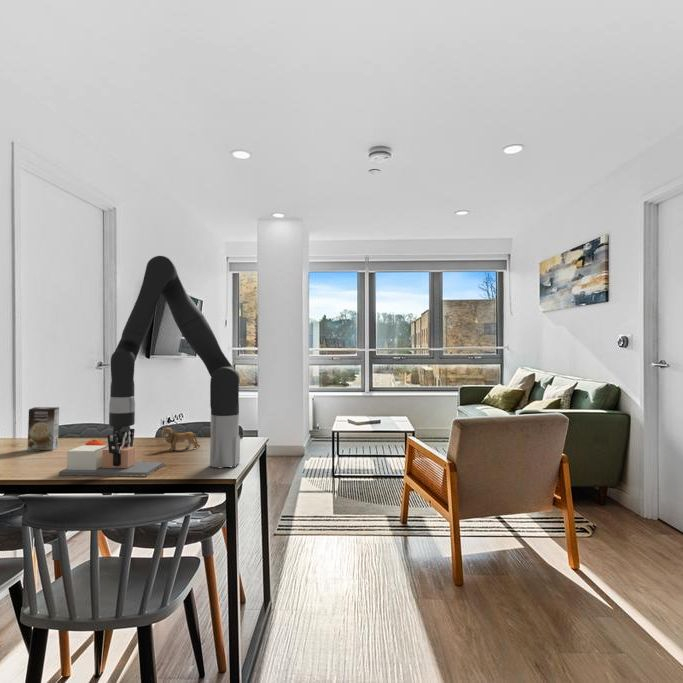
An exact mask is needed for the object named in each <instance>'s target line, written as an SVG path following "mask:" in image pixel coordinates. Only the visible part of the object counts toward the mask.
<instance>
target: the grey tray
mask: <svg viewBox="0 0 683 683" xmlns="http://www.w3.org/2000/svg"><path fill="white" fill-rule="evenodd" d="M106 448H109V447H108V445H105V446H95V445H85V444H84V445H80V446H77V447H75V448H72V449H70V450H67V452H66V453H67V454H66V457H67V458H66V468H64V469H62V470H59V471H58V476H59V475H145V476H144V477H148V476H149V475H148V474H150V473H151V474H153V473H154V472H153V471H155V470H156V471H158V470H159V469H161V468H163V467H164V466H165V461H135V464H134V465H132V466H131V467H129V468H102V463H103V450H104V449H106ZM163 465H164V466H163ZM162 466H163V467H162ZM160 467H161V468H160ZM158 468H159V469H158ZM157 469H158V470H157ZM156 471H155V472H156ZM152 472H153V473H152ZM151 474H150V475H151ZM147 475H148V476H147Z"/></svg>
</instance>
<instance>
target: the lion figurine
mask: <svg viewBox="0 0 683 683" xmlns="http://www.w3.org/2000/svg"><path fill="white" fill-rule="evenodd" d="M161 438H162V440H163V441H165V442H166V443H167V444H170V446H171V447H170V448H169V450H170V449H172V450H175V451H176V448H177V447H176V446H177V443H184V442H186V441H187V443H188V445H187V446H185V448H186V449H190V447H191V446H192V445H193V446H194V447H193V448H198V447H199V448H200V447H201V445H200V444H198V440H197V437H196V434H195V433H194V432H193V431H186V432H178V431H177V430H175V429H173V428H171V427H164V428H163V429H162V432H161ZM172 450H171V451H172Z"/></svg>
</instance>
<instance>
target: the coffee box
mask: <svg viewBox="0 0 683 683" xmlns="http://www.w3.org/2000/svg"><path fill="white" fill-rule="evenodd" d="M59 421H60V407H59V406H58V407H57V406H55V407H49V406H48V407H47V406H44V407H43V406H42V407H40V406H39V407H37V406H36V407H32V408H29V409H28V422H27V423H28V426H27V428H28V429H27V448H26V450H27V452H40V451H39V450H53V451H55V450H56V449H57V448H59V427H60V426H59V424H60V422H59ZM54 449H55V450H54Z"/></svg>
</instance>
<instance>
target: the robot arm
mask: <svg viewBox="0 0 683 683" xmlns="http://www.w3.org/2000/svg"><path fill="white" fill-rule="evenodd" d="M142 280H143V281H142V284H141V286H140V290H139V293H138V296H137V298H136V301H135V303H134V305H133V308H132V310H131V312H130V315H129V316H128V319H127V321H126V323H125V326H124V328H123V330H122V333H121V337H120V340H119V341H118V343H117V346H116V349H115V351H114V352H113V353H112V355H111V356H110V376H111V377H110V378H111V382H110V395H109V396H110V397H109V398H110V399H109V407H108V410H109V412H108V426H109V427H112V428H113V429H112V430H113V431H112V433H111V434H108V435H107V446H108V447H109V453H112V454H113V466H120V465H121V450H122V447H134V446H133V445H134V437H135V428H131V427H132V426H134V425H135V422H136V421H135V420H136V419H135V418H136V417H135V416H136V413H135V412H136V402H135V380H134V377H135V376H134V375H135V365H136V364H135V362H136V360H137V357H138V354H139V352H140V349H141V346H142V344H143V343H144V341H145V340H146V337H147V334H148V332H149V329H150V328H151V326H152V323H153V318H154V314H155V312H156V309H157V305H158V303H159V300H160V297H161V296H162V298H163V299H164V300H165V302H166V303H167V306H168V307H169V309H170V313H171V315H172V318H173V320H174V322H175V324H176V326H177V328H178V330H179V331H180V333H181V335H182V336H183V338H184V340H185V341H186V343H187V344H188V345H189V347H190V348H191V349H192V350H193V352H195V354H196V355H197V356H198V358H200V360H201V361H202V362H203V364H204V366H205V368H206V370H207V371H208V374H209V376H210V380H209V381H210V383H209V384H210V385H209V388H210V390H209V391H210V393H209V395H210V397H209V398H210V399H209V401H210V402H209V407H210V436H209V437H210V438H209V439H210V444H209V445H210V448H209V450H210V452H209V453H210V454H209V466H210V467H211V466H212V467H211V468H213V467H230V466H236V465H237V464H238V463H239V462H240V460H241V458H240V457H241V456H240V455H241V436H240V435H239V428H240V426H239V424H240V423H239V422H240V419H239V418H240V416H239V415H240V402H239V401H240V400H239V396H240V394H239V393H240V391H239V389H240V382H241V381H240V375H239V373H238V371H237V370H236V369H235V367H234V366H233V365H232V364H231V362H230V360H228V358H227V356H225V353H224V352H223V350H222V349H221V346H220V345H219V342H218V340H217V338H216V335H215V334H214V331H213V330H212V328H211V326H210V324H209V322H208V321H207V319H206V317H205V315H204V314H203V312H202V310H200V308H199V307H198V305H197V304H196V303H195V301H194V300H193V299H192V298H191V296H189V294H188V292H187V291H186V289H185V287H184V286H183V284H182V281H181V279H180V276H179V274H178V272H177V269H176V265H175V264H174V263H173V261H172V260H171V259H170V258H169V257H167V256H164V255H155V256H153V257H152V258H150V259H149V260H148V261H147V263H146V267H145V271H144V276H143V279H142ZM112 447H113V448H112ZM118 447H119V449H118ZM239 464H240V463H239ZM239 464H238V465H239ZM238 465H237V466H238Z"/></svg>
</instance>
